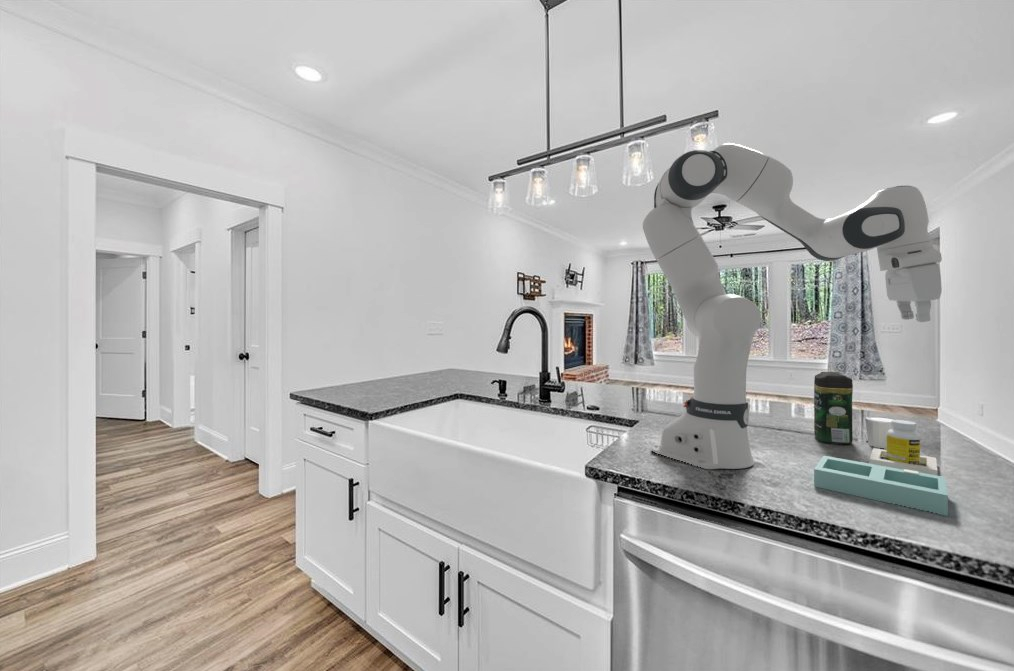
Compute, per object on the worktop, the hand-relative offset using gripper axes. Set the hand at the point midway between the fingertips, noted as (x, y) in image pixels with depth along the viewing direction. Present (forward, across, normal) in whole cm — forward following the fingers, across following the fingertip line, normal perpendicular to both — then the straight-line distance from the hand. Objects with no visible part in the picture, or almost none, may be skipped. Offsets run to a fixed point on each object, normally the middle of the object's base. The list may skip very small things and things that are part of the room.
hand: (915, 320), depth 91 cm
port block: (+29, +24, -16) cm, 41 cm away
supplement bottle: (+32, +4, -7) cm, 33 cm away
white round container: (+33, -12, -7) cm, 35 cm away
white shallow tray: (+32, +4, -7) cm, 33 cm away
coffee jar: (+31, -12, -17) cm, 38 cm away
